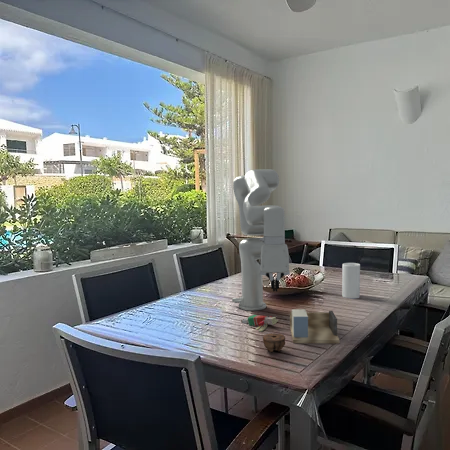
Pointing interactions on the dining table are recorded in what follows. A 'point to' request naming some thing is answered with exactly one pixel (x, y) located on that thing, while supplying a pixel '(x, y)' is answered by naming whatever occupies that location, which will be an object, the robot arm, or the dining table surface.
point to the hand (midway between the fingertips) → (275, 290)
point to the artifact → (274, 341)
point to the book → (299, 323)
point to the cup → (351, 280)
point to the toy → (260, 321)
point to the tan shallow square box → (319, 328)
